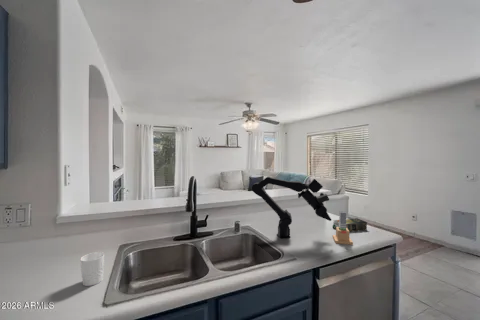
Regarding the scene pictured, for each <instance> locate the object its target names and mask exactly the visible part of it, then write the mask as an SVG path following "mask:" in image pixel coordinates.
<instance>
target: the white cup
mask: <svg viewBox="0 0 480 320" xmlns="http://www.w3.org/2000/svg"><path fill="white" fill-rule="evenodd" d="M104 269H105V252H103V251H94V252H90V253H87V254H85V255H83V256H81V257H80V271H81V278H82V285H83V286H85V287H91V286H95V285H97V284H99V283H101V282H102V281H103V280H104Z"/></svg>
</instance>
